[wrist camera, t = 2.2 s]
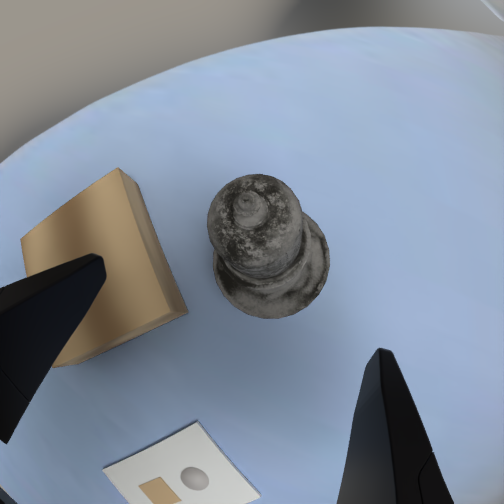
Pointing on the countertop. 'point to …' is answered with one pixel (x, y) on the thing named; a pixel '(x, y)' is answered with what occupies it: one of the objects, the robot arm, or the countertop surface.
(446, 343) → the countertop surface
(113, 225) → the base brick
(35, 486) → the countertop surface
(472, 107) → the countertop surface
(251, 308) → the weathered stone finial
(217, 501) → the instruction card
